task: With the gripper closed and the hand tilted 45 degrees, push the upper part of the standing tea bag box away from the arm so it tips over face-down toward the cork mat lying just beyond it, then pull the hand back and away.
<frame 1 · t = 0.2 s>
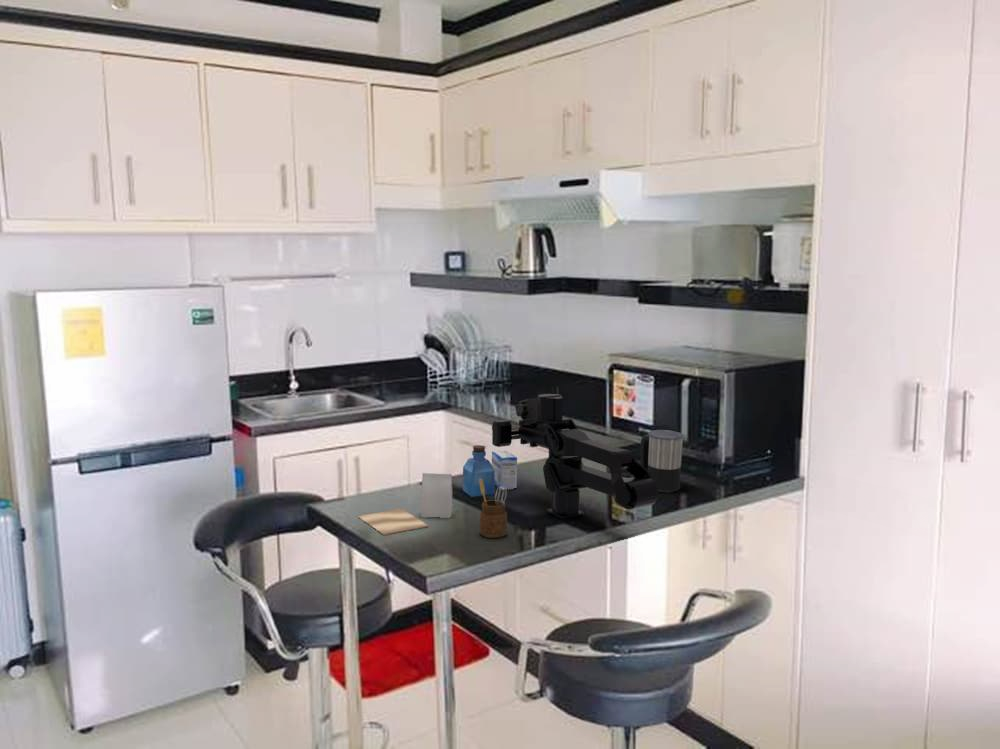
hand: (507, 425, 212), 16 cm above the countertop, tool horizontal, fingers open, 9 cm apart
medicine box: (503, 486, 217), on the countertop
tea bag: (436, 516, 191), on the countertop
cork mat: (392, 522, 186), on the countertop
utensil holder: (492, 534, 179), on the countertop
milk frother: (648, 489, 216), on the countertop
perfume bottle: (478, 493, 210), on the countertop
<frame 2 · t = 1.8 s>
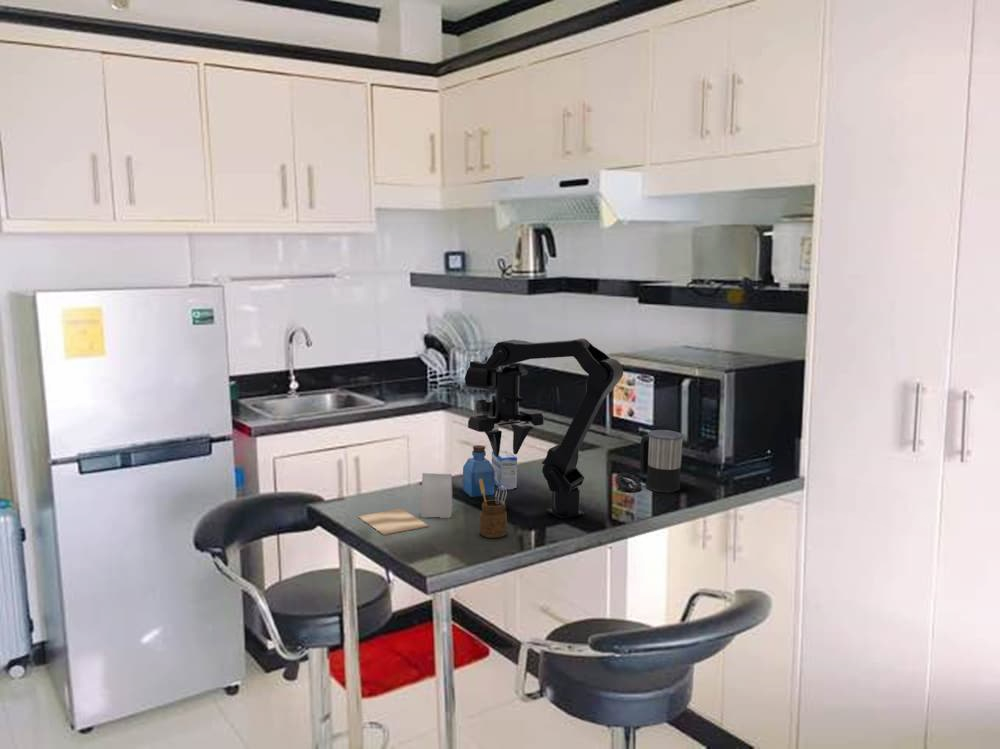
hand: (505, 455, 200), 12 cm above the countertop, tool pointing down, fingers open, 5 cm apart
nothing on the countertop moved.
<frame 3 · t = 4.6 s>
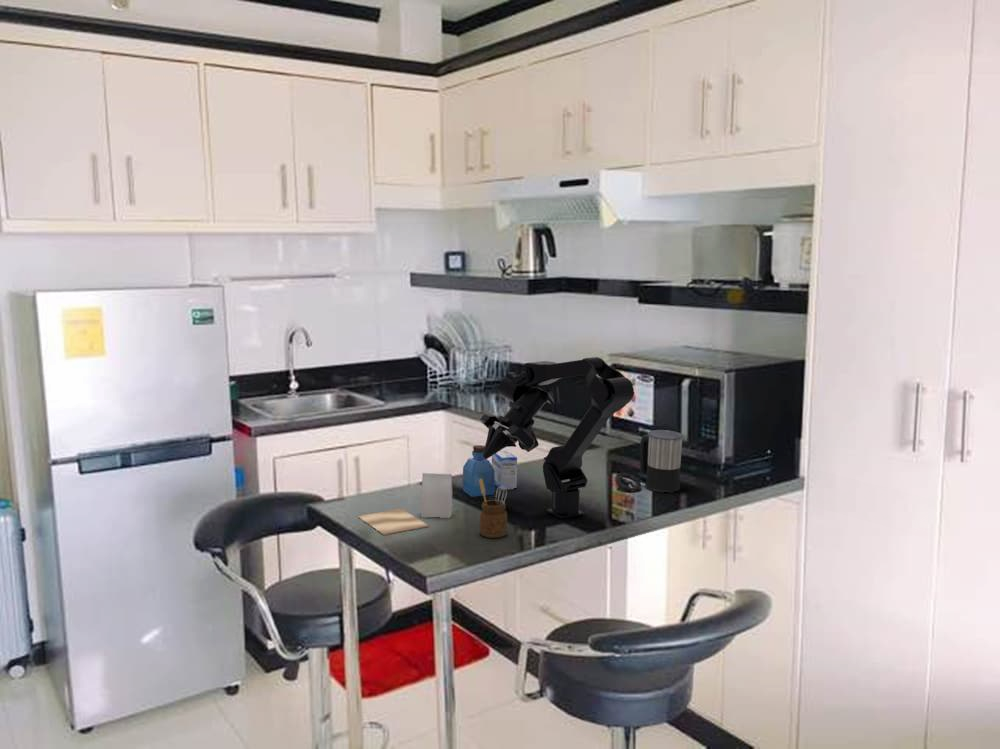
hand: (484, 457, 196), 12 cm above the countertop, tool tilted 45°, fingers closed
nothing on the countertop moved.
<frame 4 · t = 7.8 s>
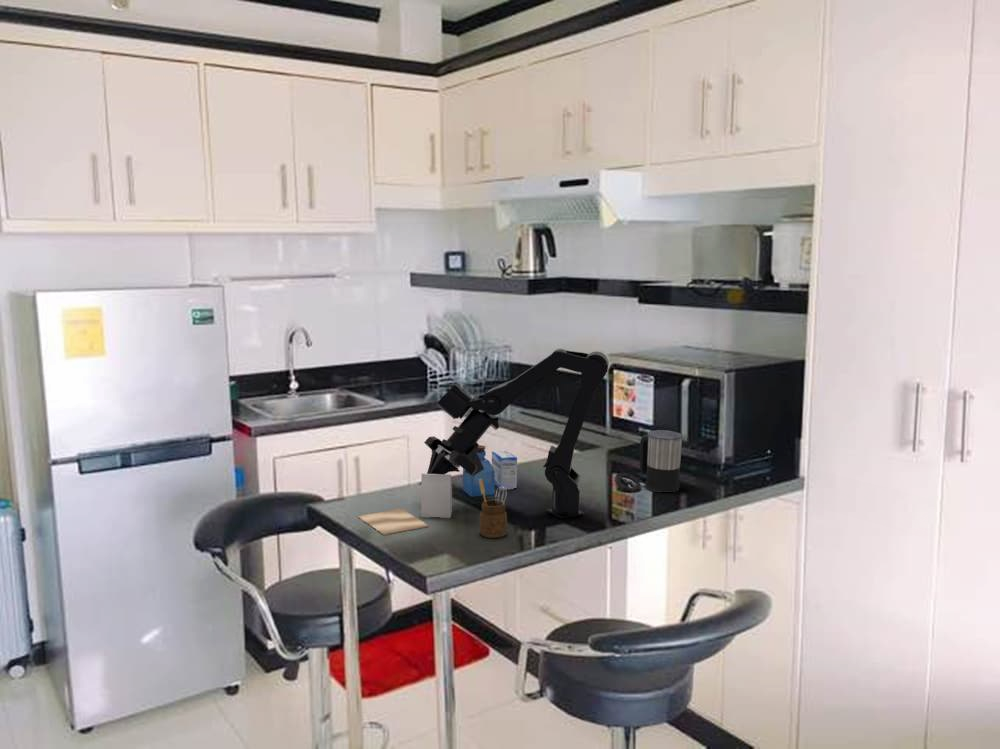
hand: (426, 483, 191), 8 cm above the countertop, tool tilted 45°, fingers closed
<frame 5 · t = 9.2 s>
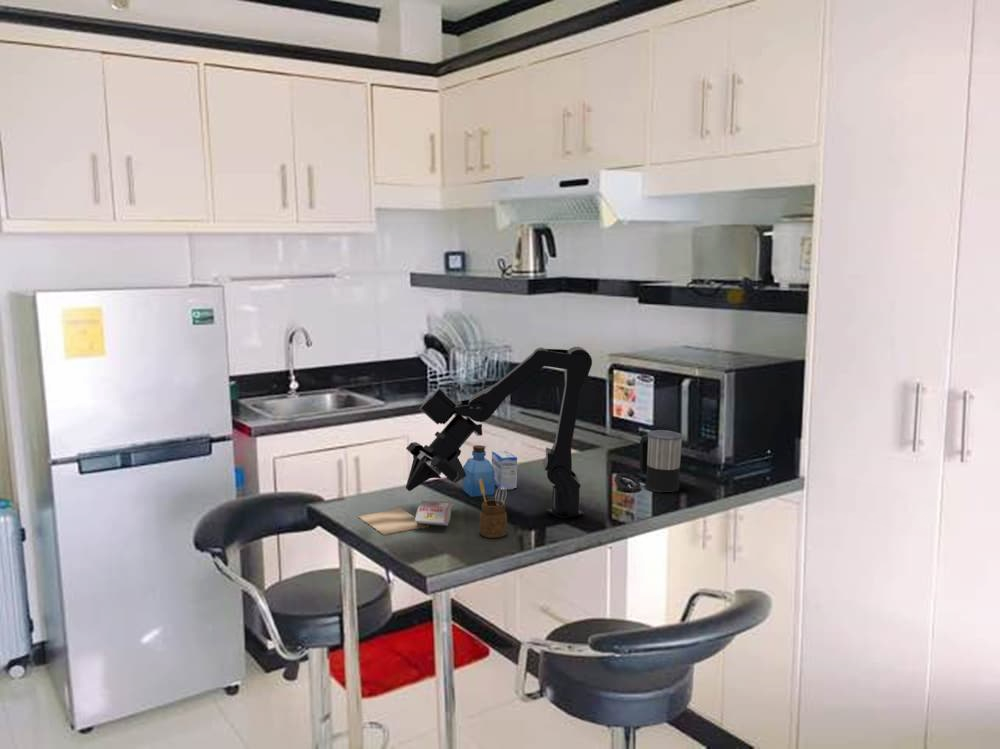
hand: (407, 489, 187), 7 cm above the countertop, tool tilted 45°, fingers closed
tea bag: (436, 509, 189), point 2 cm above the countertop, touching cork mat
everything else where it was.
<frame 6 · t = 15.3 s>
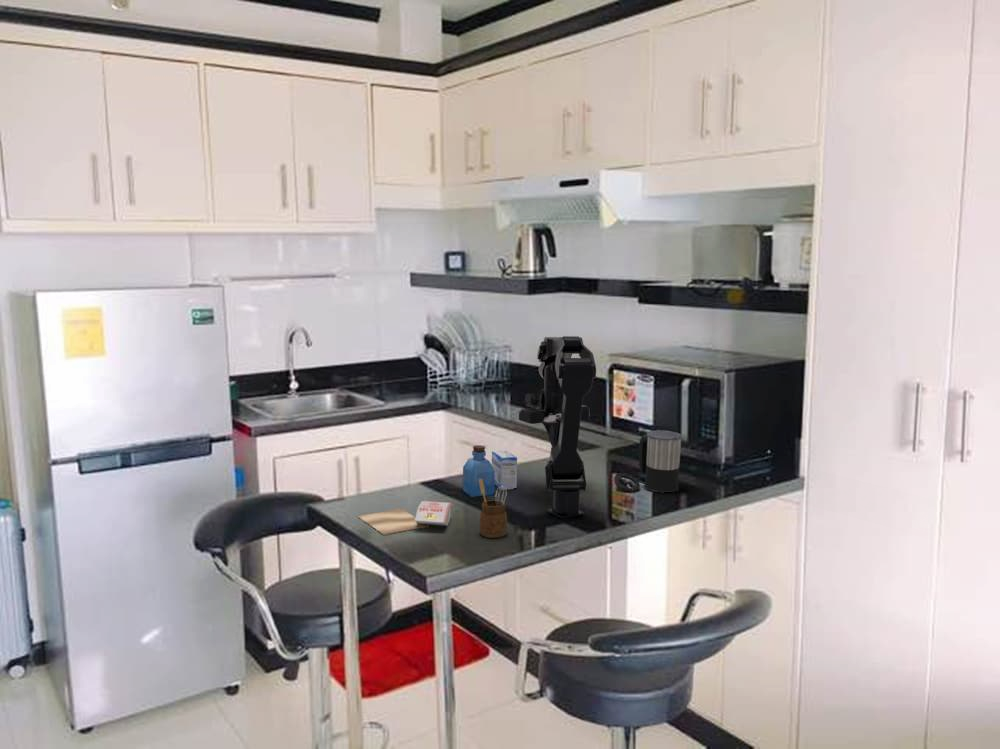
hand: (553, 446, 210), 12 cm above the countertop, tool pointing down, fingers closed
nothing on the countertop moved.
at the end: tea bag tilted 89°; tea bag 10.3 cm from the cork mat (horizontally); tea bag moved 2.5 cm from its start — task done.
